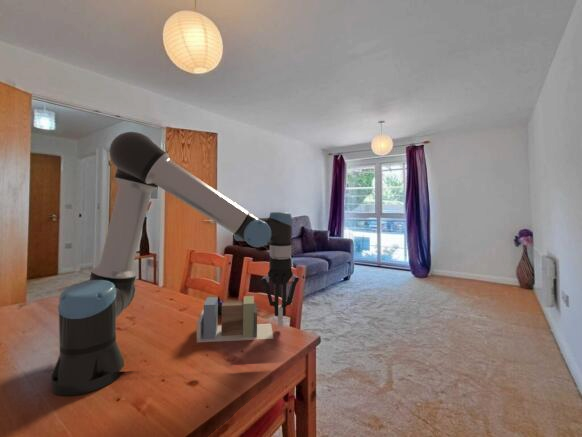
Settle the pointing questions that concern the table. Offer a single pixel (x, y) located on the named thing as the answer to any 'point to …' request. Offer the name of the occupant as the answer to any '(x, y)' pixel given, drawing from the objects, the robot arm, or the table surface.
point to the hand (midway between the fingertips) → (280, 324)
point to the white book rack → (262, 333)
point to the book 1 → (210, 317)
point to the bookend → (255, 320)
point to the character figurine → (219, 306)
